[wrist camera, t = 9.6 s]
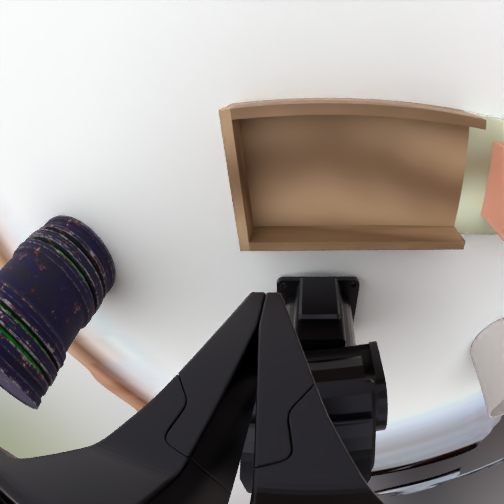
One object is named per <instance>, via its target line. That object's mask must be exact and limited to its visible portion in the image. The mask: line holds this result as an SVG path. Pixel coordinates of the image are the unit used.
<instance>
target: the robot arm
mask: <svg viewBox="0 0 504 504" xmlns="http://www.w3.org/2000/svg"><path fill="white" fill-rule="evenodd" d="M353 282H354V284H351V283H353ZM281 283H285V284H284V285H283V284H281ZM358 291H359V280H358V278H356V277H281V278H279V279H278V280H277V293H267V294H265V293H263V292H252V293H250V294H249V296H248V297H247V298H246V299H245V300H244V301H243V302H242V303H241V305H240V306H239V307H238V308H237V309H236V310H235V311H234V312H233V314H232V315H231V316H230V317H229V318H228V319H227V320H226V321H225V323H224V324H223V325H222V326H221V327H220V328H219V329H218V330H217V331H216V333H215V334H214V335H213V336H212V337H211V338H210V339H209V340H208V341H207V343H206V344H205V345H204V346H203V347H202V348H201V349H200V350H199V351H198V352H197V353H196V355H195V356H194V357H193V358H192V359H191V360H190V361H189V362H188V363H187V364H186V365H185V367H184V368H183V369H182V370H181V371H180V372H179V375H176V376H175V377H174V378H173V379H172V380H171V382H170V383H169V384H168V385H167V386H166V387H165V388H164V389H163V390H162V391H161V392H160V393H159V394H158V395H157V396H156V397H155V398H154V399H152V400H151V401H150V402H149V403H148V404H147V405H146V406H144V407H143V408H142V409H141V410H140V411H139V412H137V413H136V414H135V415H134V416H133V417H131V418H130V419H129V420H128V421H126V422H125V423H124V424H123V425H122V426H121V427H119V428H118V429H117V430H115V431H114V432H113V433H112V434H110V435H109V436H108V437H106V438H105V439H103V440H101V441H100V442H98V443H96V444H94V445H92V446H89V447H85V448H81V449H77V450H72V451H67V452H62V453H58V454H52V455H46V456H40V457H34V458H25V459H19V458H17V457H15V456H14V455H12V454H10V453H9V452H7V451H6V450H4V449H2V448H1V447H0V504H228V502H229V498H230V495H231V491H232V488H233V484H234V481H235V477H236V474H237V470H238V466H239V463H241V464H240V480H241V481H242V483H243V485H244V487H245V489H246V491H247V492H248V493H252V495H251V500H250V504H385V503H384V502H383V501H382V500H381V499H380V498H379V497H378V496H377V495H376V494H375V493H374V491H373V490H372V489H371V488H370V486H369V485H368V484H367V483H368V481H369V480H370V478H371V470H372V468H373V466H374V459H375V438H376V431H379V430H385V429H386V425H387V414H388V403H387V388H386V381H385V376H384V371H383V367H382V363H381V358H380V354H379V350H378V346H377V342H376V341H374V342H369V344H362V345H356V344H355V335H354V326H353V321H354V315H355V309H356V304H357V297H358ZM240 459H241V461H240Z"/></svg>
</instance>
